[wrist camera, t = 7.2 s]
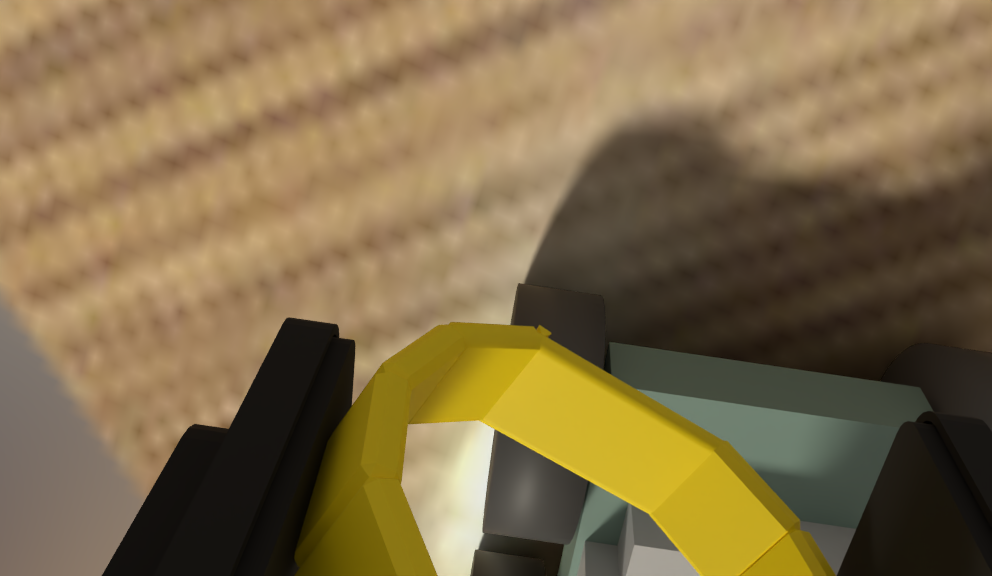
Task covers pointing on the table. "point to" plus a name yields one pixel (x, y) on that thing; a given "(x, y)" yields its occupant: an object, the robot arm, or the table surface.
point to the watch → (552, 433)
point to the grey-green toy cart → (731, 417)
